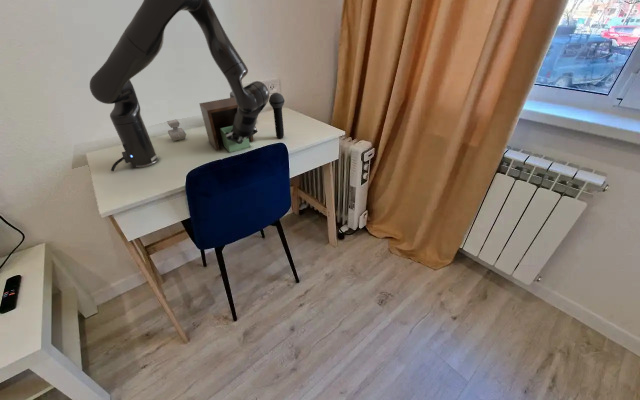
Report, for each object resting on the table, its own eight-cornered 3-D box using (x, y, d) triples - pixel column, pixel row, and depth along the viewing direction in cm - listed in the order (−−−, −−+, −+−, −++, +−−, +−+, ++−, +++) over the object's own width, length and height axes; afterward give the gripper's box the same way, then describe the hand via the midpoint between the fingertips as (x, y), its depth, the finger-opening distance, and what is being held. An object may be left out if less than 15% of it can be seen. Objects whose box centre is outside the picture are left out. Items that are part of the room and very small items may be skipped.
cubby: (216, 150, 119) (206, 110, 108) (209, 141, 126) (199, 103, 116) (253, 141, 126) (247, 102, 116) (244, 133, 134) (238, 96, 123)
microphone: (276, 141, 126) (271, 96, 114) (271, 136, 130) (265, 92, 118) (289, 138, 128) (286, 93, 116) (284, 133, 133) (280, 90, 121)
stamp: (188, 140, 127) (183, 122, 122) (173, 144, 124) (166, 125, 119) (184, 133, 133) (178, 116, 128) (169, 137, 131) (163, 119, 126)
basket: (230, 152, 117) (226, 134, 113) (223, 145, 123) (219, 128, 118) (250, 147, 121) (247, 129, 117) (243, 140, 127) (240, 123, 122)
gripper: (257, 109, 104) (250, 130, 120) (222, 116, 98) (219, 137, 114) (265, 127, 104) (257, 146, 119) (231, 135, 98) (226, 154, 113)
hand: (238, 141), depth 117 cm, fingers closed
